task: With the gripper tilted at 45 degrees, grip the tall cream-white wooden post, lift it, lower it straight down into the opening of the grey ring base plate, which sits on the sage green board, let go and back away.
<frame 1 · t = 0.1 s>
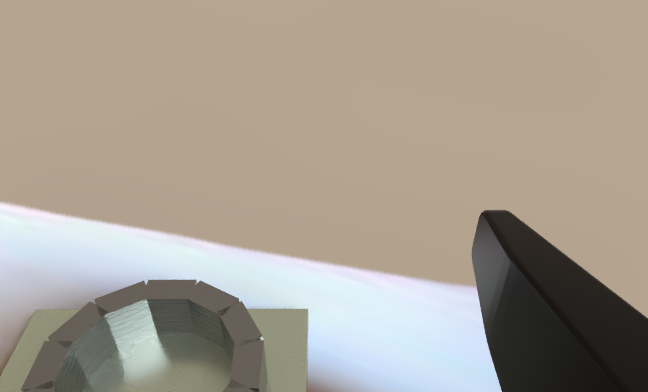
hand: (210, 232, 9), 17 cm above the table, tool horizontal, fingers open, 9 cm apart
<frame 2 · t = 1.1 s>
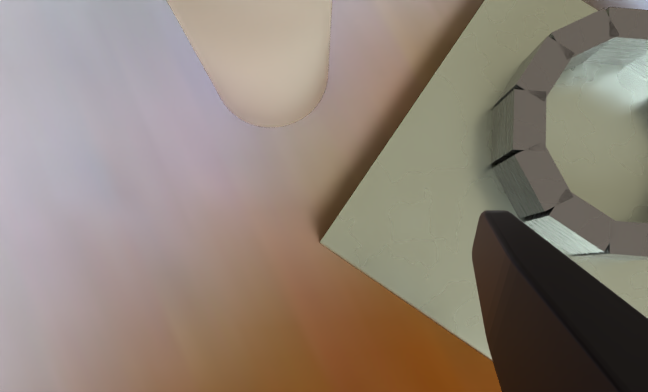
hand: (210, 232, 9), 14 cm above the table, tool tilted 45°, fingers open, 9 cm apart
grey ring base plate: (592, 150, 23), on the table
post: (271, 72, 24), on the table
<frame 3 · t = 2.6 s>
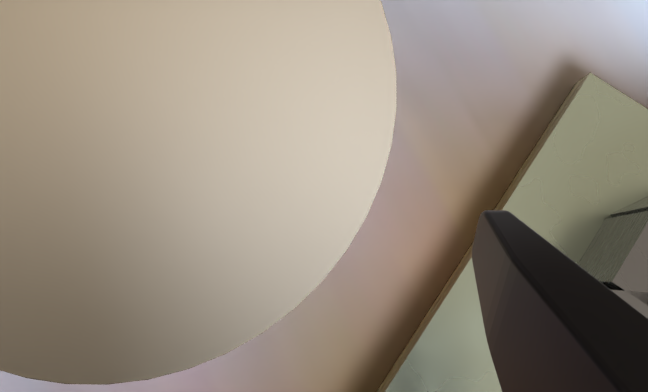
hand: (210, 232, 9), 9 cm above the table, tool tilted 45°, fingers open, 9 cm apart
post: (263, 223, 18), on the table
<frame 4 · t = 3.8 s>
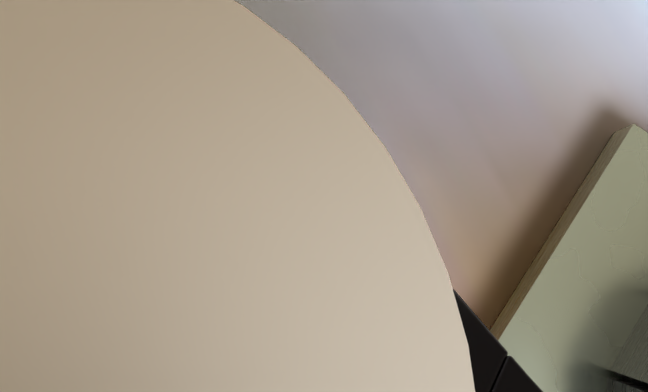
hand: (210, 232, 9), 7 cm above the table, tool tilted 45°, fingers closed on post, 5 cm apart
post: (255, 296, 15), on the table, touching gripper
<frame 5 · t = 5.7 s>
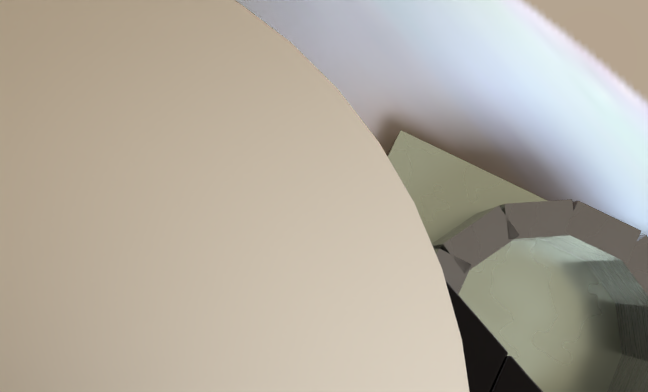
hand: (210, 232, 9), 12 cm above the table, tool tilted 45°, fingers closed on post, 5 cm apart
grey ring base plate: (515, 331, 21), on the table
post: (254, 295, 15), point 6 cm above the table, touching gripper
when the fingers open (9 cm above the table, at t = 7.7 s): post drops 1 cm, resting on grey ring base plate.
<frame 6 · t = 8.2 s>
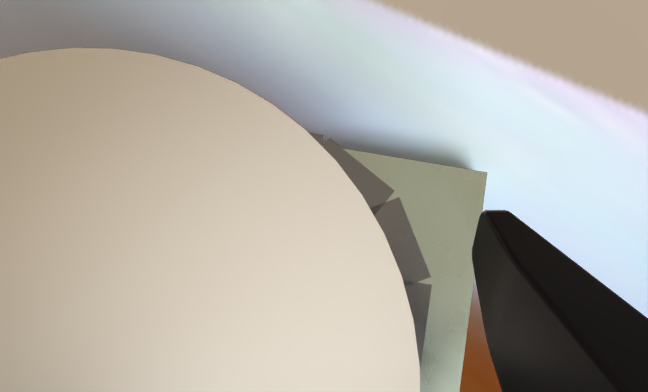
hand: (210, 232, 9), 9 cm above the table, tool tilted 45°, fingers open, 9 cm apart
grey ring base plate: (264, 292, 18), on the table
post: (261, 295, 17), point 1 cm above the table, touching grey ring base plate
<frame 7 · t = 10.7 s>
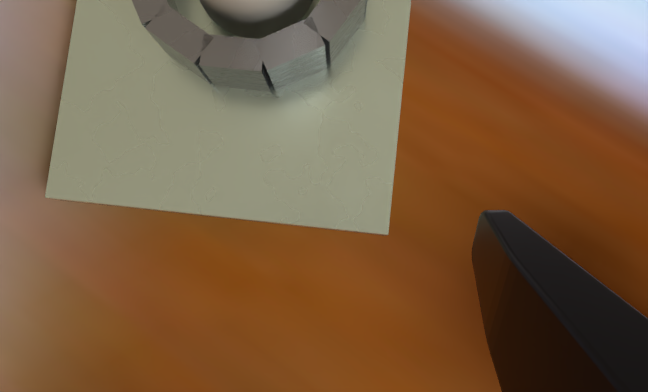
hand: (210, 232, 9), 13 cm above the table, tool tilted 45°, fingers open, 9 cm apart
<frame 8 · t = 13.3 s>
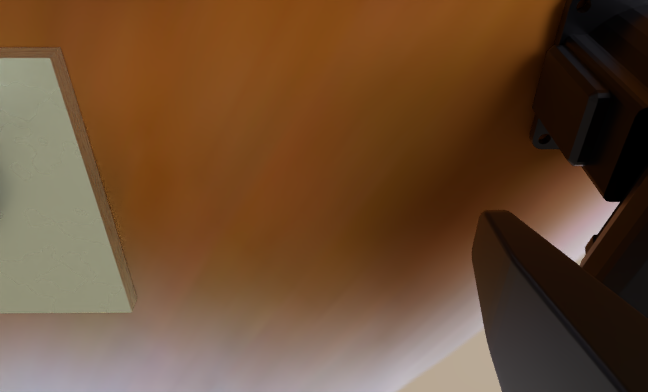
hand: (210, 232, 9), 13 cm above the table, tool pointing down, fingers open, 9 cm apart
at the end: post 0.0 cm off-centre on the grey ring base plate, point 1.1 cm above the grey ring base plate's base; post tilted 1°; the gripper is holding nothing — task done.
